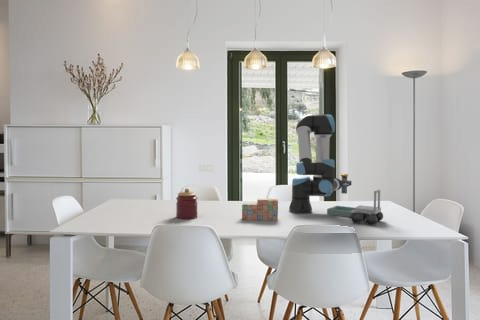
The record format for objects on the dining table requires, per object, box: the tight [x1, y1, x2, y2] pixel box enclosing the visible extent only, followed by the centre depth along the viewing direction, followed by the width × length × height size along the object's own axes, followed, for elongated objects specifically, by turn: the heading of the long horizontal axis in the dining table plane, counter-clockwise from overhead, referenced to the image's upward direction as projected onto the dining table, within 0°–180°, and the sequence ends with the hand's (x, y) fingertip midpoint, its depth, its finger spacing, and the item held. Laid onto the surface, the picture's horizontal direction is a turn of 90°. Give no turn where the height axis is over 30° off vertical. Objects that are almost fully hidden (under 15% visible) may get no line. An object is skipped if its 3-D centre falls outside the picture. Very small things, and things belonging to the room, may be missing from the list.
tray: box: [326, 205, 355, 218], centre depth 239 cm, size 16×16×3 cm
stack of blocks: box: [241, 198, 279, 222], centre depth 220 cm, size 21×6×12 cm, turn 86°
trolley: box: [350, 189, 384, 226], centre depth 214 cm, size 14×15×19 cm
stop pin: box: [340, 173, 349, 194], centre depth 237 cm, size 5×5×12 cm
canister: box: [175, 187, 198, 220], centre depth 224 cm, size 13×13×18 cm
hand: (347, 181), depth 242 cm, fingers closed on stop pin, 3 cm apart
